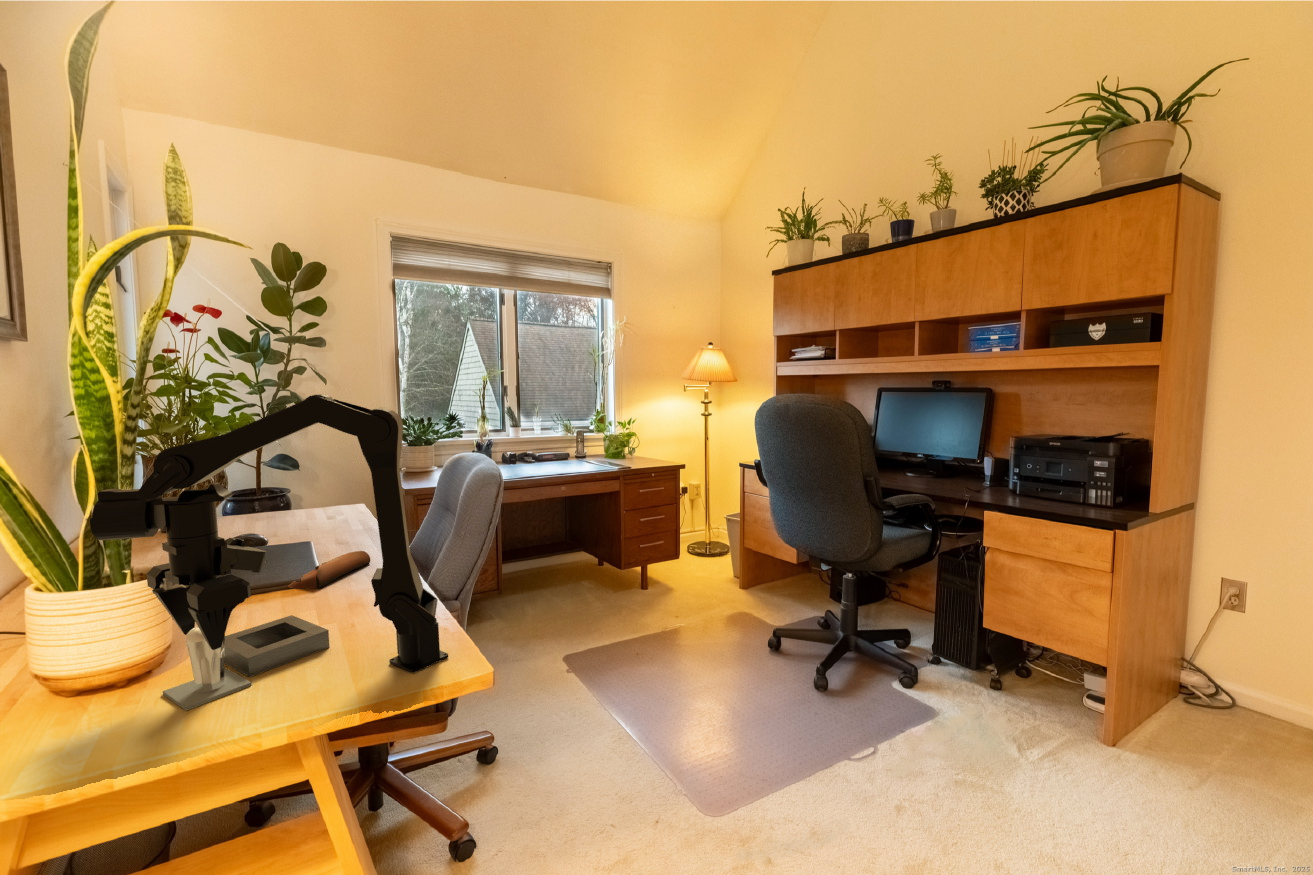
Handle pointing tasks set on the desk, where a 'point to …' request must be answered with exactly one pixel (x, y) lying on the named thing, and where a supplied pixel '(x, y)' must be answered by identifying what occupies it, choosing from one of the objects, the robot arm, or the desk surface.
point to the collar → (273, 644)
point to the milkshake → (205, 662)
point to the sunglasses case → (332, 570)
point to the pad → (191, 698)
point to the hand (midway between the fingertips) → (202, 640)
